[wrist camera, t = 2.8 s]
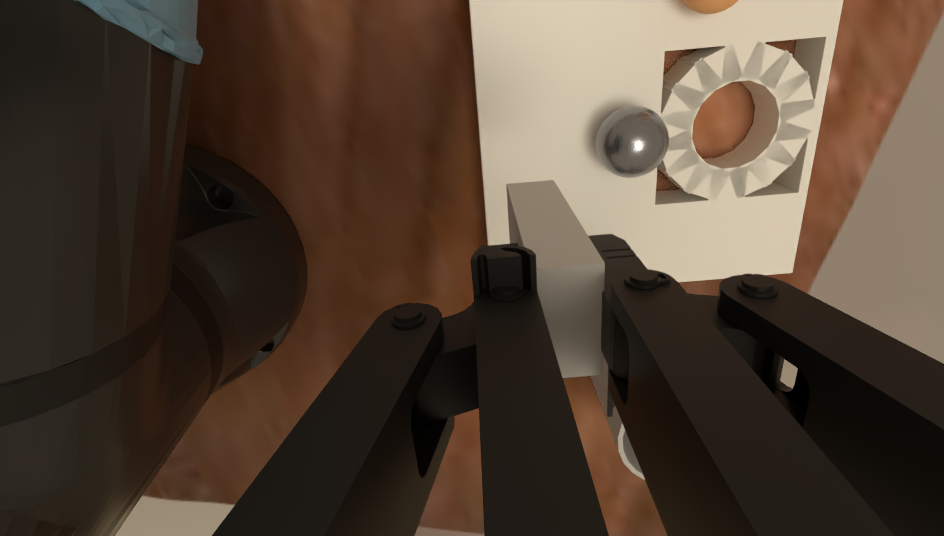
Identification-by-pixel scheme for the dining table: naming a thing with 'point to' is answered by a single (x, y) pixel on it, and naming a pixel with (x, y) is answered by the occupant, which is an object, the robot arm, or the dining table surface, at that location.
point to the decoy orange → (709, 5)
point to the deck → (675, 100)
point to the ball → (632, 141)
